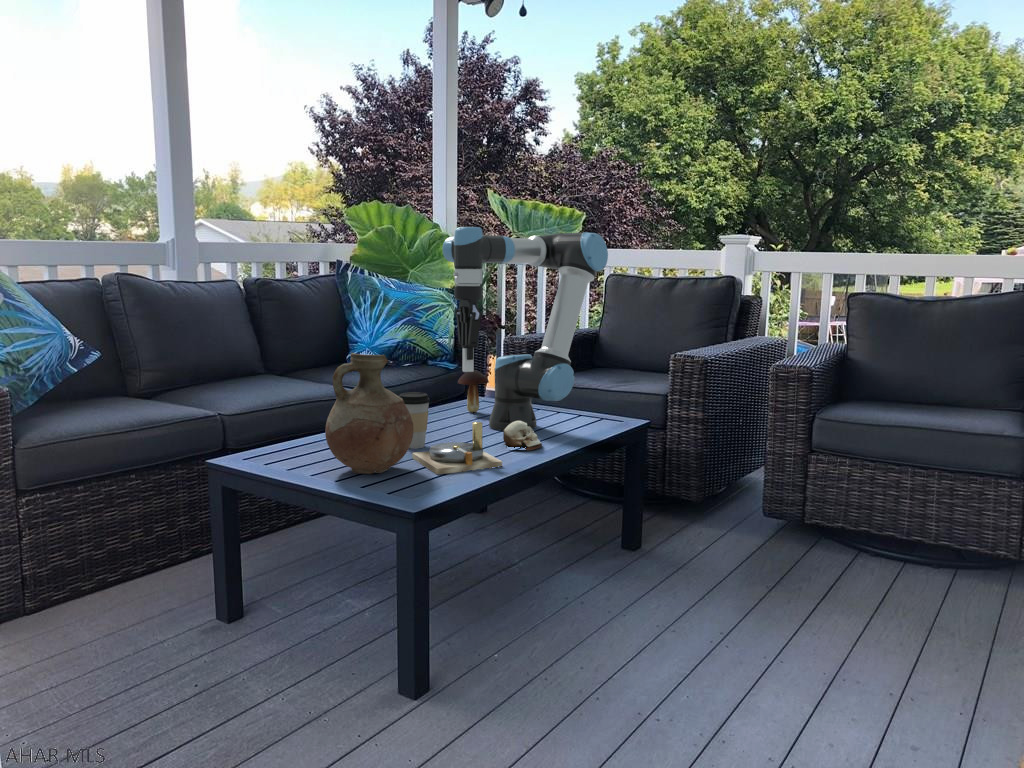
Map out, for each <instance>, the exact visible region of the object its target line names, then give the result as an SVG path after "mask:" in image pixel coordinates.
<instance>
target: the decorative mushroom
mask: <svg viewBox="0 0 1024 768" xmlns="http://www.w3.org/2000/svg"><path fill="white" fill-rule="evenodd" d="M489 383H490V381H489V379H488V377H487V376H486V375H485V374H484V373H482V372H480V371H478V370H475V369H474V371H473V372H464V374H462V375H461V376H460V377H459V379H458V380H457V384H460V385H464V386H465V385H466V386H468V390H467V398H466V399H467V400H466V409H467V411H468V412H469V413H471V412H472V413H471V414H474V413H473V412H475V413H476V412H478V411H479V409H480V396H479V389H478V385H480V384H489Z"/></svg>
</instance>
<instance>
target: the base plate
mask: <svg viewBox="0 0 1024 768" xmlns="http://www.w3.org/2000/svg"><path fill="white" fill-rule="evenodd" d="M411 455H412V459H413V460H414V461H416V462H418V463H419V464H420V465H422V466H424V467H425V468H427V469H428V470H429V471H431V472H432V473H434V474H435V475H444V474H445V475H446V474H453V473H462V471H463V472H468V471H467V470H472V471H477V470H476V469H481V470H485V469H484V468H489V469H493V468H492V467H498V466H502V467H503V461H502V460H500V459H498V458H496V457H495V456H493V455H491V454H489V453H487V452H486V451H483V457H482V458H481V459H479V460H476V461H472V453H471V452H466V462H460V463H452V462H441V461H436V460H433V459H431V458H430V450H428V451H418V452H417V451H416V452H412V454H411ZM498 468H499V467H498Z"/></svg>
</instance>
